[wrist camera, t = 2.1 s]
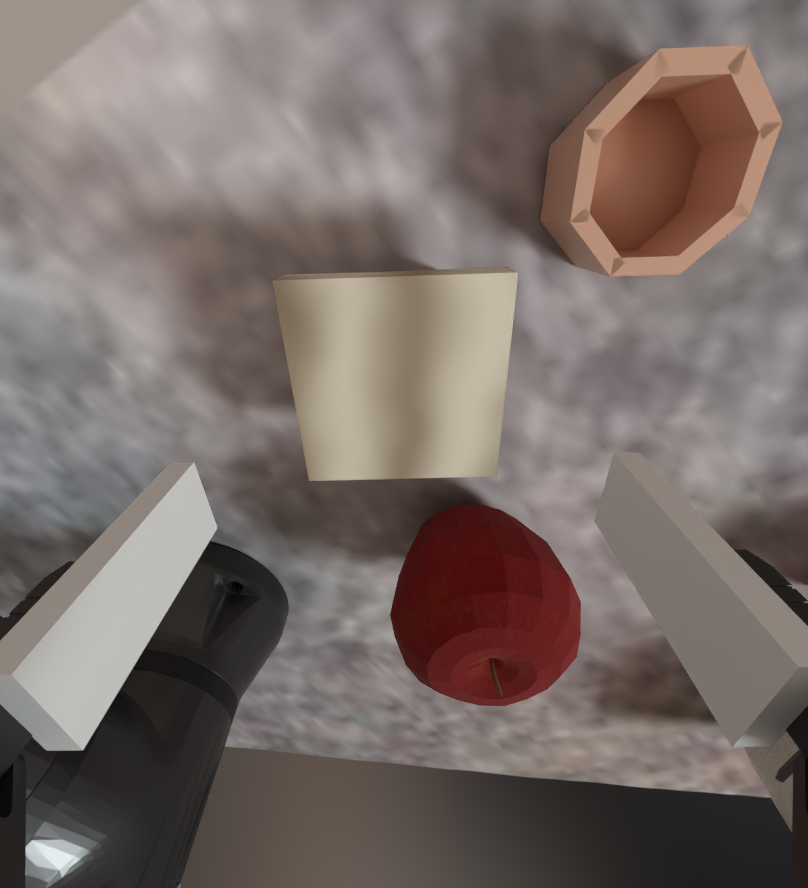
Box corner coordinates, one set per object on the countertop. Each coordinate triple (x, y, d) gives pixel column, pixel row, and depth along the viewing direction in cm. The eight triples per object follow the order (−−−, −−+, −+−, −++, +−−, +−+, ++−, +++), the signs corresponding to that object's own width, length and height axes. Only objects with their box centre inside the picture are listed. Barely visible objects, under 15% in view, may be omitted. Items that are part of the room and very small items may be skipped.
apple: (543, 464, 30) (632, 622, 18) (533, 571, 36) (596, 742, 24) (386, 477, 30) (375, 638, 19) (401, 581, 36) (400, 751, 25)
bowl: (534, 267, 23) (561, 278, 19) (557, 85, 19) (597, 51, 15) (673, 262, 23) (729, 272, 19) (726, 78, 19) (811, 42, 15)
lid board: (315, 462, 25) (309, 481, 23) (283, 274, 19) (271, 280, 18) (490, 457, 25) (496, 476, 23) (507, 267, 19) (518, 272, 17)
